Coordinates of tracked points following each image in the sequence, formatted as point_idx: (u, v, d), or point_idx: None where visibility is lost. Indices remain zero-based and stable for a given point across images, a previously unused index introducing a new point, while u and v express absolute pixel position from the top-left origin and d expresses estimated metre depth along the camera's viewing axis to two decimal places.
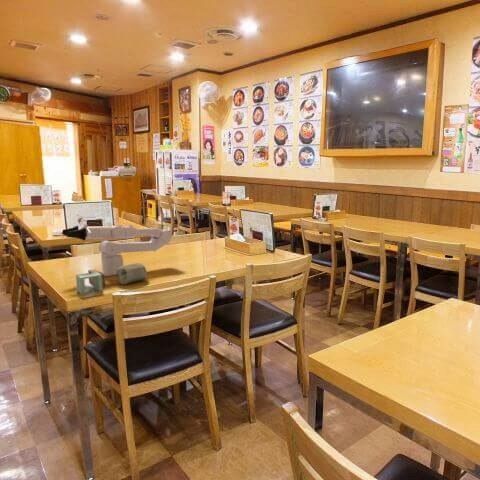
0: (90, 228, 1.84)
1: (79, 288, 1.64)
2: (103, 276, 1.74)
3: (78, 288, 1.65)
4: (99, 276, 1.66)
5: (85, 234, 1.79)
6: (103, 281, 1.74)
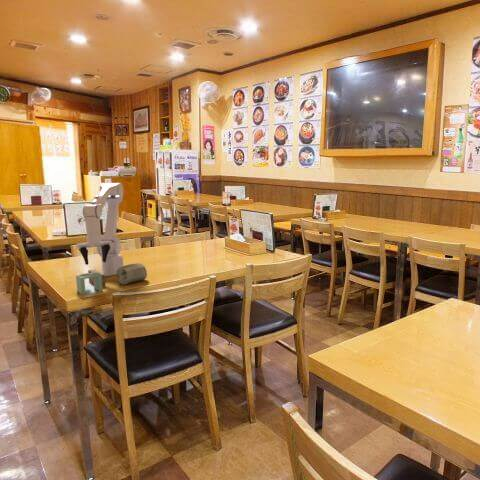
0: (99, 239, 1.75)
1: (79, 288, 1.64)
2: (103, 276, 1.74)
3: (78, 288, 1.65)
4: (99, 276, 1.66)
5: None
6: (103, 281, 1.74)
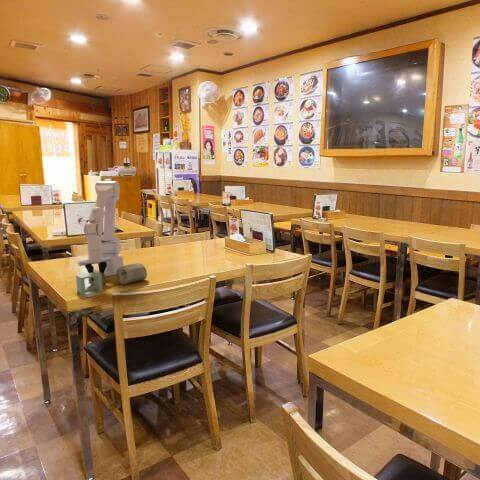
0: (101, 256, 1.77)
1: (79, 288, 1.64)
2: (103, 276, 1.74)
3: (78, 288, 1.65)
4: (99, 276, 1.66)
5: None
6: (103, 281, 1.74)
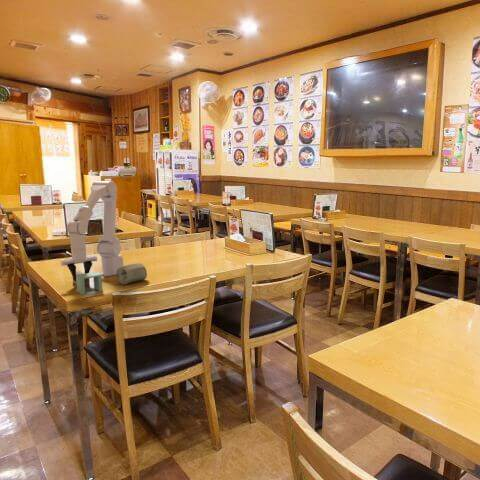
0: (84, 256, 1.73)
1: (79, 288, 1.64)
2: (87, 278, 1.71)
3: (78, 288, 1.65)
4: (99, 276, 1.66)
5: None
6: (87, 283, 1.71)
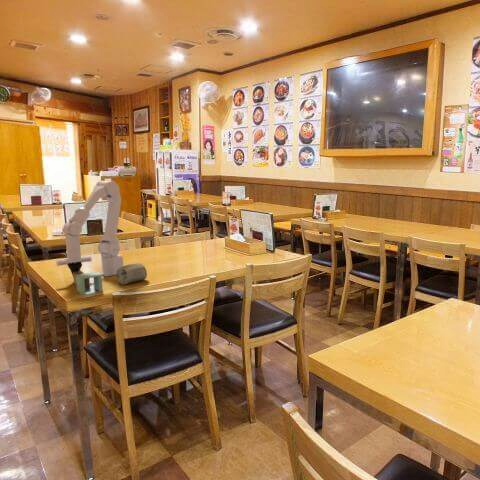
0: (79, 256, 1.79)
1: (79, 288, 1.64)
2: (87, 278, 1.70)
3: (78, 288, 1.65)
4: (99, 276, 1.66)
5: None
6: (87, 283, 1.70)
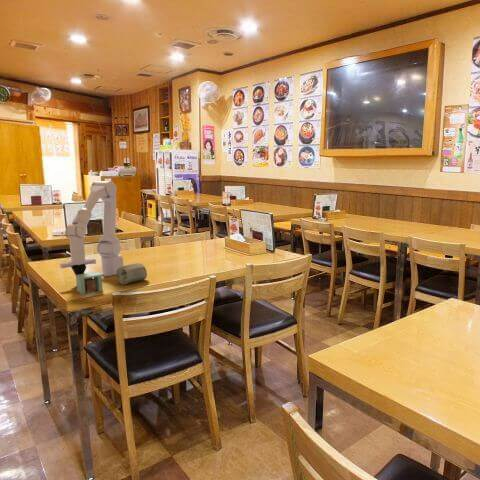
0: (83, 258, 1.75)
1: (79, 288, 1.64)
2: (93, 281, 1.66)
3: (78, 288, 1.65)
4: (99, 276, 1.66)
5: None
6: (93, 286, 1.66)
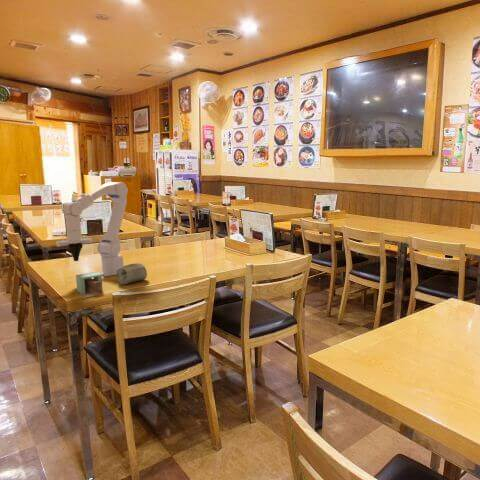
0: (80, 237, 1.76)
1: (79, 288, 1.64)
2: (100, 283, 1.64)
3: (78, 288, 1.65)
4: (99, 276, 1.66)
5: None
6: (100, 288, 1.64)
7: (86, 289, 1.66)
